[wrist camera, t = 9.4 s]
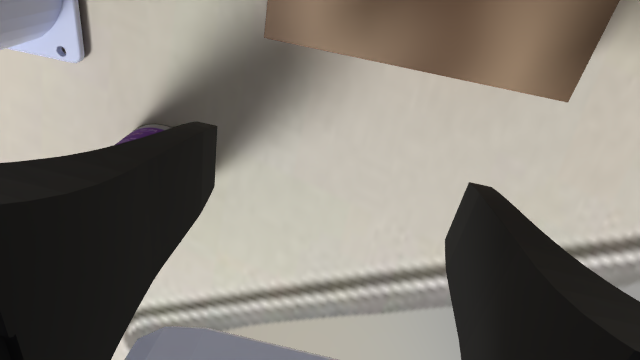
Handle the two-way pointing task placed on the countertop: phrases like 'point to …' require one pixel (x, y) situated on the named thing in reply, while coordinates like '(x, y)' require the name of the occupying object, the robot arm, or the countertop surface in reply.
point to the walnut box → (456, 37)
